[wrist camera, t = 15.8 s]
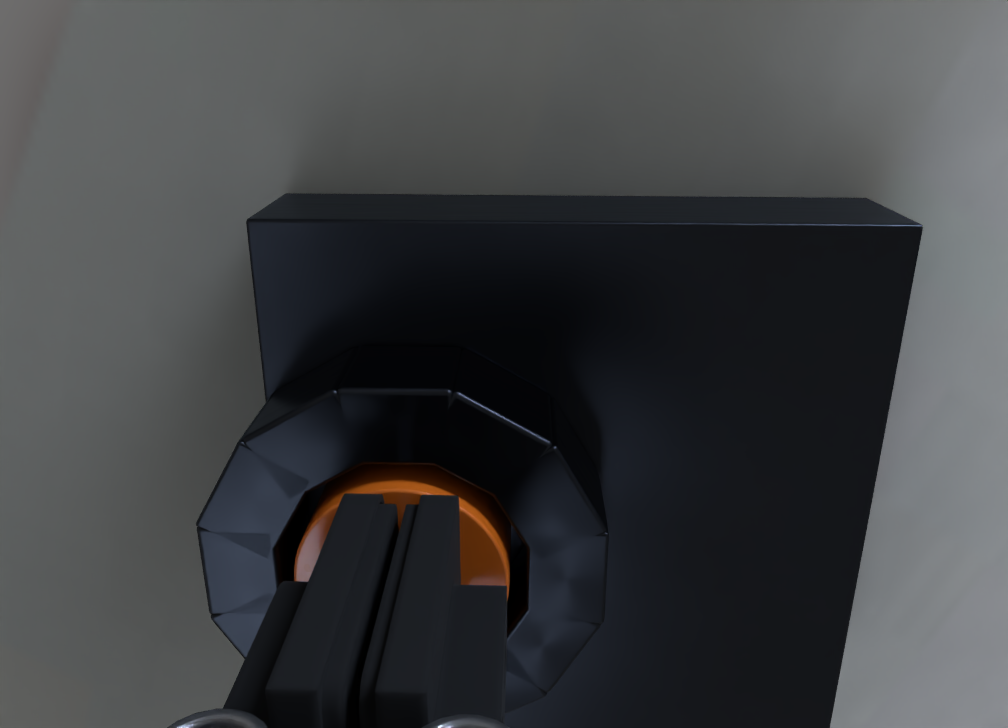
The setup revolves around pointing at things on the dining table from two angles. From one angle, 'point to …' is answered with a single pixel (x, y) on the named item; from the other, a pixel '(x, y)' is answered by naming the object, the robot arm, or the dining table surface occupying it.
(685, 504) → the button box
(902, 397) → the dining table surface
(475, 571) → the button
